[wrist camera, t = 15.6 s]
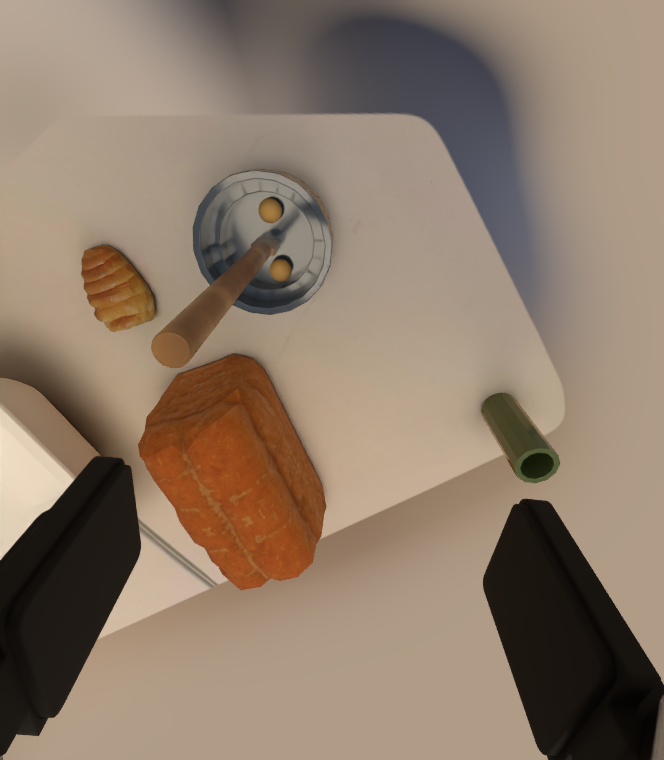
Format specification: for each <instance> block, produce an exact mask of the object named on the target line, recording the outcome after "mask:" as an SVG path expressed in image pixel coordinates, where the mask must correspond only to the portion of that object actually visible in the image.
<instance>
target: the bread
mask: <svg viewBox="0 0 664 760" xmlns="http://www.w3.org/2000/svg"><path fill="white" fill-rule="evenodd" d="M138 446H139V453H140V458H142V459H143V460H144V462H145V465H146V468H147V470H148V471H149V473H150V474H151V476H152V478H153V479H154V481H155V482H156V484H157V485H158V486H159V488H160V489H161V490H162V492H163V493H164V494H165V496H166V497H167V498H168V500H169V501H170V502H171V504H172V505H173V506H174V508H175V510H176V513H177V515H178V518H179V521H180V523H181V524H182V526H183V527H184V528H185V530H186V531H187V533H188V534H189V535H190V537H191V538H192V540H193V541H194V542H195V543H196V544H198V545H200V546H202V547H204V548H205V549H206V551H207V553H208V555H209V557H210V559H211V561H212V562H213V563H214V564H216V565H217V566H218V567H219V569H220V571H221V573H222V574H223V575H224V576H225V577H226V578H227V579H228V580H230V581H231V582H232V583H233V584H234V585H236V586H237V587H238V588H239V589H240V590H245V589H250V588H256V587H261V586H262V585H263V584H264V583H265V582H267V581H268V580H269V579H270V578H271V579H275V580H279V581H282V580H286V579H290V578H295V577H298V576H299V575H300V574H301V573H302V572H303V571H304V570H305V569H306V568H308V567H309V566H310V565H311V564H312V563H313V558H314V553H315V547H316V544H317V542H318V540H319V539H320V537H321V534H322V527H323V518H324V513H325V510H326V502H325V498H324V494H323V489H322V485H321V482H320V480H319V478H318V476H317V474H316V472H315V470H314V468H313V466H312V464H311V462H310V460H309V458H308V456H307V454H306V452H305V451H304V449H303V447H302V445H301V443H300V441H299V439H298V437H297V435H296V433H295V431H294V429H293V427H292V425H291V423H290V421H289V419H288V417H287V415H286V412H285V410H284V408H283V406H282V404H281V402H280V400H279V398H278V396H277V394H276V392H275V390H274V388H273V386H272V384H271V382H270V380H269V378H268V376H267V374H266V372H265V370H264V369H263V368H262V367H261V366H260V365H259V364H258V363H257V362H255V361H254V360H253V359H252V358H249V357H244V356H240V355H235V354H233V355H231V356H228V357H226V358H223V359H221V360H218V361H216V362H213V363H211V364H208V365H205V366H202V367H199V368H196V369H192V370H189V371H186V372H183V373H180V374H178V375H177V376H176V378H175V379H174V380H173V382H172V383H171V384H170V386H169V387H168V388H167V390H166V391H165V392H164V394H163V395H162V397H161V399H160V400H159V402H158V404H157V405H156V406H155V408H154V409H153V410H152V411H151V413H150V414H149V415H148V416H147V419H146V426H145V432H144V434H143V436H142V438H141V440H140V442H139V444H138Z"/></svg>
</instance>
